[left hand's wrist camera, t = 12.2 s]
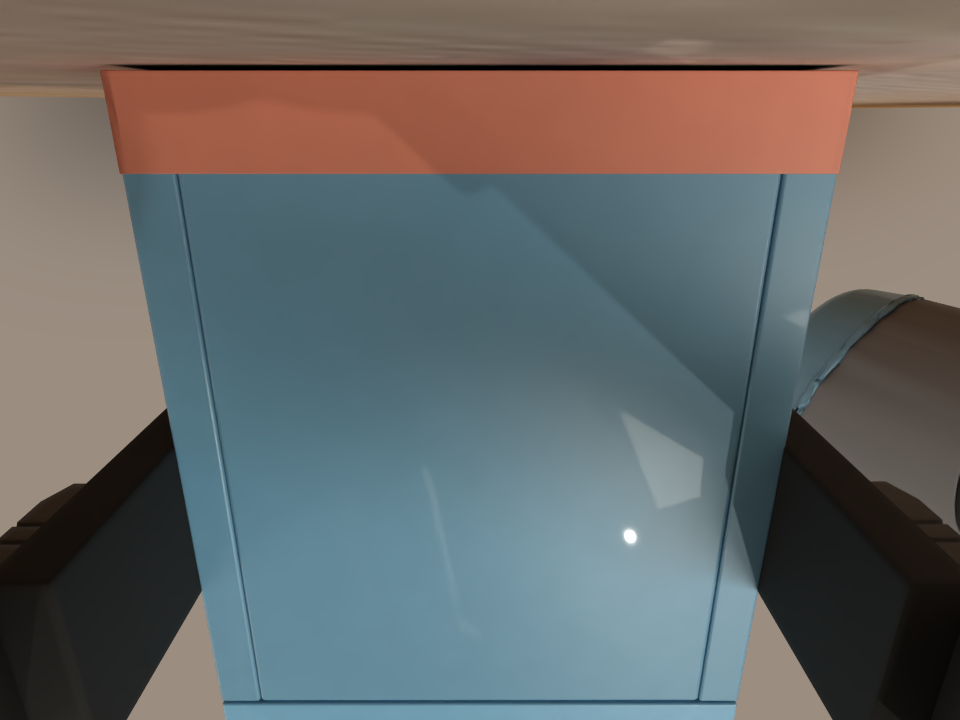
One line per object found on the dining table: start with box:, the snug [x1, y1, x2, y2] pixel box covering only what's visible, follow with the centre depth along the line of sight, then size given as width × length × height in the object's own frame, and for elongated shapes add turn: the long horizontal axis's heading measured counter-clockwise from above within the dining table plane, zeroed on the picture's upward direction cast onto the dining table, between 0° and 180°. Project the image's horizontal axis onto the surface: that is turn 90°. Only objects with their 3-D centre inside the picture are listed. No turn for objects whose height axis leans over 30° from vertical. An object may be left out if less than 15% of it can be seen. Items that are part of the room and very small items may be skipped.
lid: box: [223, 697, 736, 720], centre depth 21 cm, size 17×9×8 cm, turn 0°
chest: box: [100, 70, 859, 701], centre depth 17 cm, size 16×9×10 cm, turn 0°
